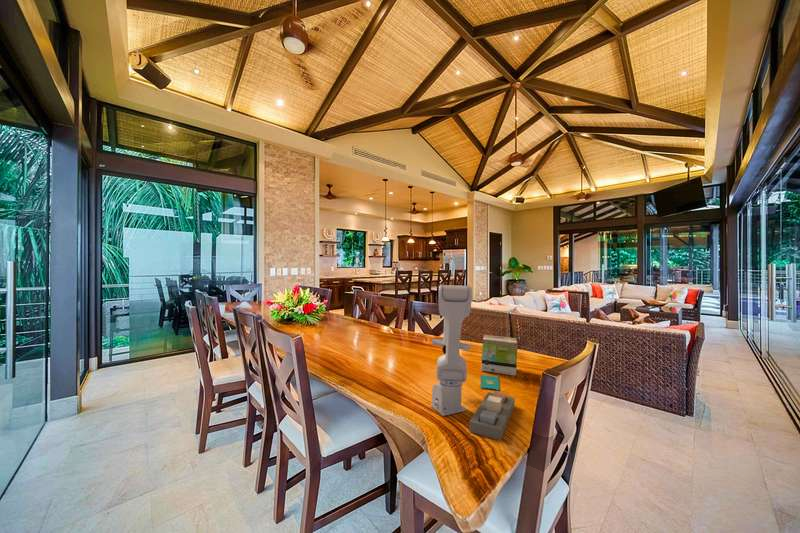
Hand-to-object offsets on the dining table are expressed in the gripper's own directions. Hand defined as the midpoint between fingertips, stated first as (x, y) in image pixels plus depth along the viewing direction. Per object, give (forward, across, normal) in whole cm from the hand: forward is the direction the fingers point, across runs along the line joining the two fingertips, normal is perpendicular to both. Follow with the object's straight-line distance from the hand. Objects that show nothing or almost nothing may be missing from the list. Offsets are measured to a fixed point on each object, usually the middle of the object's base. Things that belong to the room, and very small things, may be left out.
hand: (450, 366), depth 122 cm
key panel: (+9, -19, +13) cm, 25 cm away
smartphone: (+10, -12, -16) cm, 22 cm away
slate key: (+9, -19, +21) cm, 30 cm away
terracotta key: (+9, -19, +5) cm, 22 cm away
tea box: (+10, -12, -33) cm, 37 cm away
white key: (+8, -19, +13) cm, 24 cm away
